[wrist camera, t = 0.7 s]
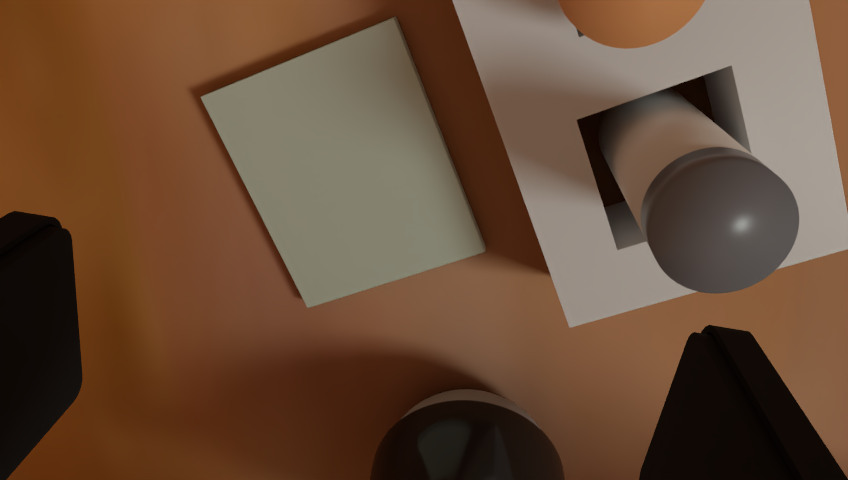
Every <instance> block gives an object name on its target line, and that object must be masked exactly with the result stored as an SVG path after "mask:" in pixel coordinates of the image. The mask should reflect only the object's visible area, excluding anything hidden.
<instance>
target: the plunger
mask: <svg viewBox="0 0 848 480" xmlns="http://www.w3.org/2000/svg"><path fill="white" fill-rule="evenodd" d="M704 1H705V0H557V2H558V4H559V6H560V8H561V10H562V12H563V13H564V14H565V16H566V17H567V18H568V20H569V21H570V22H571V23H572V24H573V25H574V26H575V27H576V28H577V29H578V30H579V31H580V32H581V33H583V34H584V35H585V36H586V37H588V38H590V39H592V40H593V41H595V42H597V43H600V44H603V45H605V46H609V47H614V48H623V49H629V48H639V47H645V46H649V45H652V44H655V43H657V42H660V41H662V40H664V39H666V38H668V37H670V36H671V35H673V34H675V33H676V32H677V31H679V30H680V29H681V28H682V27H684V26H685V25H686V24H687V23H688V22H689V21H690V20H691V19H692V18H693V17H694V15H695V14H696V13H697V12H698V10H699V9H700V7H701V6H702V4H703V3H704Z"/></svg>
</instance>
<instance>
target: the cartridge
mask: <svg viewBox="0 0 848 480" xmlns="http://www.w3.org/2000/svg"><path fill="white" fill-rule="evenodd" d="M598 142H599V147H600V149H601V152H602V154H603V156H604V158H605V160H606V162H607V164H608V166H609V168H610V170H611V172H612V174H613V176H614V178H615V180H616V182H617V184H618V186H619V188H620V190H621V192H622V194H623V196H624V198H625V200H626V202H627V204H628V206H629V208H630V210H631V212H632V214H633V216H634V218H635V220H636V222H637V224H638V226H639V228H640V229H641V231H642V233H643V235H644V237H645V239H646V241H647V243H648V245H649V247H650V249H651V251H652V253H653V255H654V257H655V259H656V261H657V263H658V265H659V266H660V268H661V269H662V270H663V271H664V273H665V274H666V275H667V276H669V277H670V278H671V279H672V280H674V281H675V282H676V283H678V284H680V285H682V286H684V287H686V288H688V289H691V290H694V291H699V292H704V293H727V292H733V291H737V290H741V289H744V288H747V287H749V286H751V285H754V284H756V283H758V282H759V281H761V280H763V279H764V278H766V277H767V276H768V275H770V274H771V273H772V272H774V271H775V270H776V269H777V268H778V267H779V266H780V265H781V264H782V262H783V261H784V260H785V259H786V257H787V256H788V254H789V253H790V251H791V249H792V247H793V245H794V243H795V240H796V237H797V234H798V228H799V210H798V205H797V202H796V199H795V197H794V195H793V193H792V191H791V190H790V188H789V187H788V185H787V184H786V183H785V182H784V181H783V180H782V179H781V178H780V177H779V176H778V175H776V174H775V173H774V172H773V171H772V170H770V169H769V168H768V167H767V166H766V165H764V164H763V163H762V162H761V161H760V160H758V159H757V158H756V157H755V156H754V155H752V154H751V153H750V152H749V151H748V150H746V149H745V148H744V147H743V146H742V145H740V144H739V143H738V142H737V141H736V140H734V139H733V138H732V137H731V136H730V135H728V134H727V133H726V132H725V131H724V130H722V129H721V128H720V127H719V126H718V125H716V124H715V123H714V122H713V121H712V120H710V119H709V118H708V117H707V116H706V115H704V114H703V113H702V112H701V111H700V110H698V109H697V108H696V107H695V106H694V105H692V104H691V103H690V102H689V101H688V100H687V99H685V98H684V97H683V96H682V95H680V94H679V93H678V92H677V91H675V90H673V89H671V88H666V89H663V90H660V91H657V92H654V93H651V94H649V95H646V96H643V97H640V98H637V99H634V100H632V101H629V102H626V103H623V104H620V105H617V106H614V107H612V108H609V109H606V110H605V111H604V113H603V115H602V117H601V120H600V123H599V128H598Z"/></svg>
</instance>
